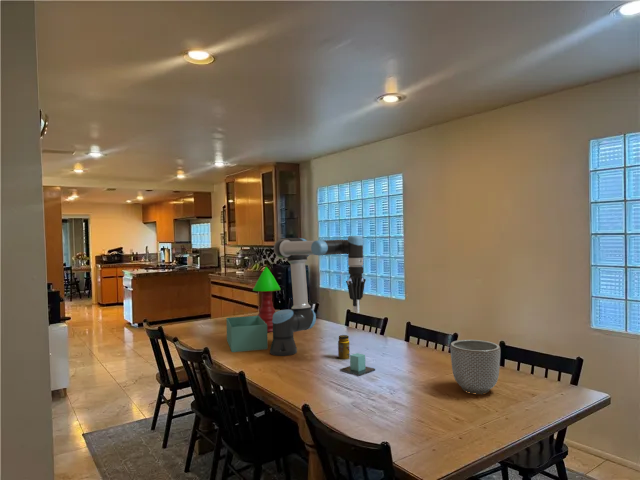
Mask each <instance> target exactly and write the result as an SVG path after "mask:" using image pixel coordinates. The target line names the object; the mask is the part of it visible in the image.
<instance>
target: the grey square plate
mask: <svg viewBox="0 0 640 480" xmlns="http://www.w3.org/2000/svg"><path fill="white" fill-rule="evenodd" d="M339 371H340V372H343V373H347V374H349V375H354V376H358V377H361V376H363V375H366V374H367V375H368V374H369V373H372V372H374V371H376V368H374V367H370V366H366V365H365V369H364V370H361V371H355V370H351V369H350V365H349V366H345V367H343V368H340V369H339Z"/></svg>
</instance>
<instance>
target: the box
mask: <svg viewBox="0 0 640 480" xmlns="http://www.w3.org/2000/svg"><path fill="white" fill-rule="evenodd" d="M225 322H226V341H227V343H228V346H229V349H230V351H231V353H239V352H240V353H241V352H250V351H260V350H268V349H269V347H268V341H269V340H268V338H269V337H268V332H267V324H266V323H265V322H264V321H263V320H262V319H261V318H260V317H259V316H257V315H249V316H233V317H226V321H225Z"/></svg>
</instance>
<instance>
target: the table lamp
mask: <svg viewBox="0 0 640 480" xmlns="http://www.w3.org/2000/svg"><path fill="white" fill-rule="evenodd" d="M252 291H253V292H256V293H257V292H258V293H259V292H261V305H260V306H261V307H260V308H259V312H258V314H257V315H256V316H259V317H260V318H261V319H262V320H263V321H264V322H265V323H266V324H267V333H273V322H272V320H273V314H274V313H275V312H276V309H275V307H274V304H273V303H274V302H273V292H278V291H281V287H280V285H279V283H278V282H277V280H276V278H275V276H274V275H273V274H272V272H271V270H270V269H269V268H268V267H267V266H265V267H264V269H263V271H262V272H261V274H260V275H259V277H258V279H257V281H256V283H255V285H254V287H253V288H252Z"/></svg>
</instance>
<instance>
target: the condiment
mask: <svg viewBox="0 0 640 480" xmlns="http://www.w3.org/2000/svg"><path fill="white" fill-rule="evenodd" d="M349 339H350V338H349V335H347V334H342V335H338V341H337V342H338V343H337V345H338V346H337V352H338V354H337V355H338V356H334V357H332V359H334V360H336V361H340V362H342V361H347V360H348V361H349V360H350V355H351V353H350V340H349Z"/></svg>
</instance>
